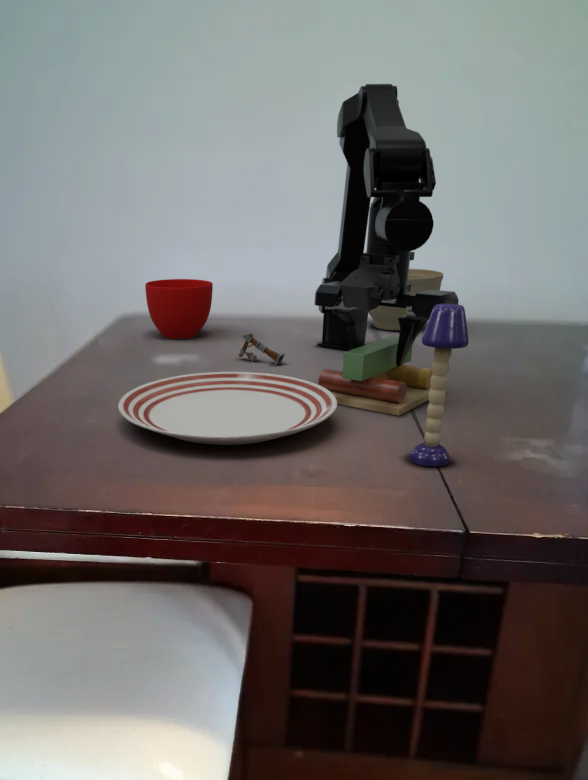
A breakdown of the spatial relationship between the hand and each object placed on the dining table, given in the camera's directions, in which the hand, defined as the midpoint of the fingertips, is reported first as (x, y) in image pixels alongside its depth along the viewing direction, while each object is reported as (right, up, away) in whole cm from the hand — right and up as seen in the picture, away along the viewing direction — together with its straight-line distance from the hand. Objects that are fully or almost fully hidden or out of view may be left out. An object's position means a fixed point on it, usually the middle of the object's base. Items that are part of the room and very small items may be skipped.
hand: (378, 362), depth 104 cm
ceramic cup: (-28, +14, +44) cm, 54 cm away
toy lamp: (+1, -15, -22) cm, 27 cm away
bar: (0, -1, 0) cm, 1 cm away
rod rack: (0, -4, +2) cm, 5 cm away
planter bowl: (+15, +17, +49) cm, 54 cm away
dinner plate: (-22, -10, -9) cm, 25 cm away
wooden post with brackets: (-15, +4, +21) cm, 26 cm away
